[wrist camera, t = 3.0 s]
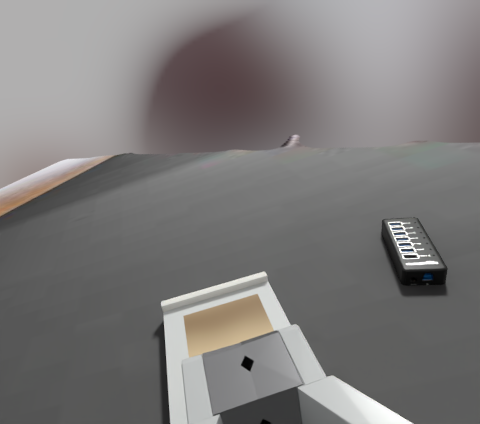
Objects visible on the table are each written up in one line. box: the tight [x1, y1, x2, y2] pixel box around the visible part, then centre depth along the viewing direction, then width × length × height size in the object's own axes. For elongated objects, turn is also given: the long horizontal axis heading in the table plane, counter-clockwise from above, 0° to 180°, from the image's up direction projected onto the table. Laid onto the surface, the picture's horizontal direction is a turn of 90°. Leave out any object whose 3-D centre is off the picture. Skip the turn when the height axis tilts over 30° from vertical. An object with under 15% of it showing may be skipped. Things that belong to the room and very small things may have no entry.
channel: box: [161, 272, 291, 424], centre depth 27 cm, size 28×12×2 cm, turn 14°
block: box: [183, 294, 274, 358], centre depth 22 cm, size 5×5×10 cm
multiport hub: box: [382, 218, 447, 285], centre depth 41 cm, size 4×11×2 cm, turn 172°
